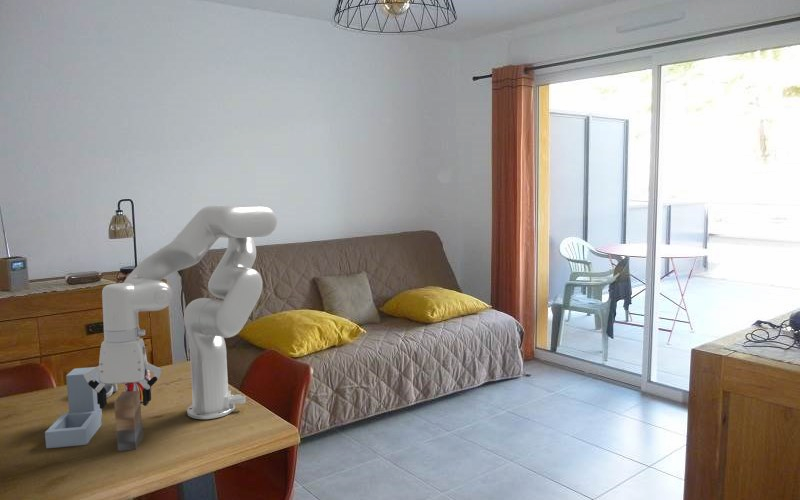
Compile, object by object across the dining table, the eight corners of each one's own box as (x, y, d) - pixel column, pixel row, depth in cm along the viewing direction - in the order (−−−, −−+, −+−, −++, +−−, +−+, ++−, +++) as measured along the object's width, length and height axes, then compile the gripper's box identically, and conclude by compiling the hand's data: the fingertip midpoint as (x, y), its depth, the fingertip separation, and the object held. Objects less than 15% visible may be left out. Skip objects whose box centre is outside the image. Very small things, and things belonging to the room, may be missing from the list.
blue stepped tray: (108, 416, 162) (104, 366, 160) (86, 444, 144) (82, 389, 143) (72, 419, 160) (67, 368, 158) (46, 448, 143) (41, 392, 141)
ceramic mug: (87, 391, 182) (85, 367, 181) (117, 386, 185) (115, 362, 184) (86, 403, 172) (84, 377, 171) (118, 397, 176) (116, 373, 175)
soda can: (142, 405, 169) (139, 364, 168) (120, 403, 171) (117, 363, 169) (157, 396, 176) (154, 357, 175) (135, 395, 178) (133, 356, 176)
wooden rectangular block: (142, 437, 148) (139, 390, 147) (135, 449, 141) (132, 400, 140) (125, 438, 147) (122, 392, 146) (117, 451, 140) (114, 402, 139)
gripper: (163, 330, 146) (165, 397, 148) (87, 333, 143) (91, 402, 145) (157, 337, 139) (159, 408, 140) (76, 341, 136) (80, 413, 137)
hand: (124, 405), depth 142 cm, fingers open, 9 cm apart
